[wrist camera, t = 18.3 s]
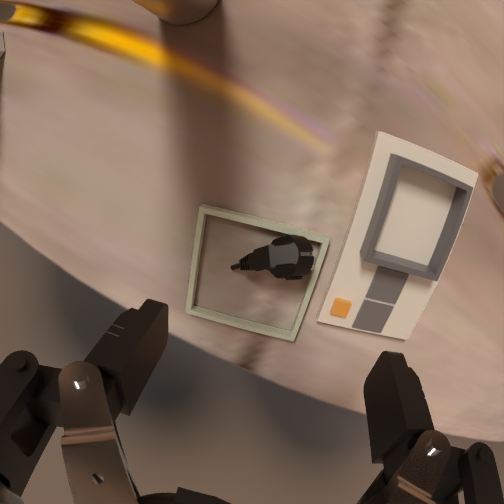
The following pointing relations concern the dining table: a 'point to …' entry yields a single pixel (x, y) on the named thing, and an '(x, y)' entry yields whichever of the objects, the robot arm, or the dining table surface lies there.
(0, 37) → the string lights box
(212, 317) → the pick tray
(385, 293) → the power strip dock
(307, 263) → the power plug
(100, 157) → the dining table surface
